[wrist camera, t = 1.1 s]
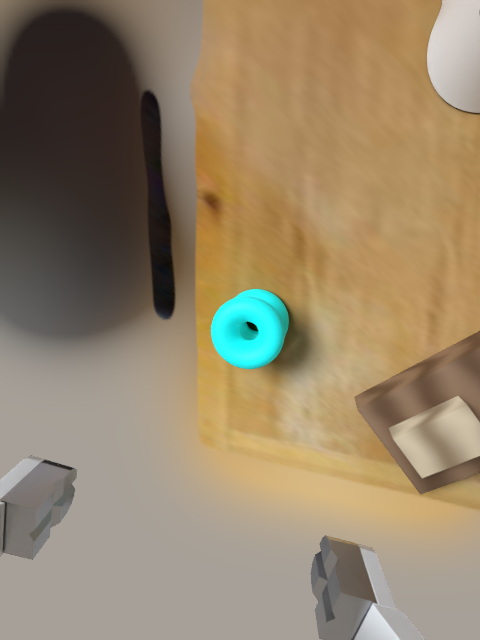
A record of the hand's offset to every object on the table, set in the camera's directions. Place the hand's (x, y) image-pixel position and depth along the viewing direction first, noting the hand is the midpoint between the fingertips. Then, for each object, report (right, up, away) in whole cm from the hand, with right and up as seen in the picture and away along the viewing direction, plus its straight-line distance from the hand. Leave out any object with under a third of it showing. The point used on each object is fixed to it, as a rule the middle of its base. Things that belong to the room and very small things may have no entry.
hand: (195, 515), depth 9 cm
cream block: (+29, -9, +32) cm, 44 cm away
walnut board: (+32, -7, +34) cm, 48 cm away
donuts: (+4, +6, +38) cm, 39 cm away
